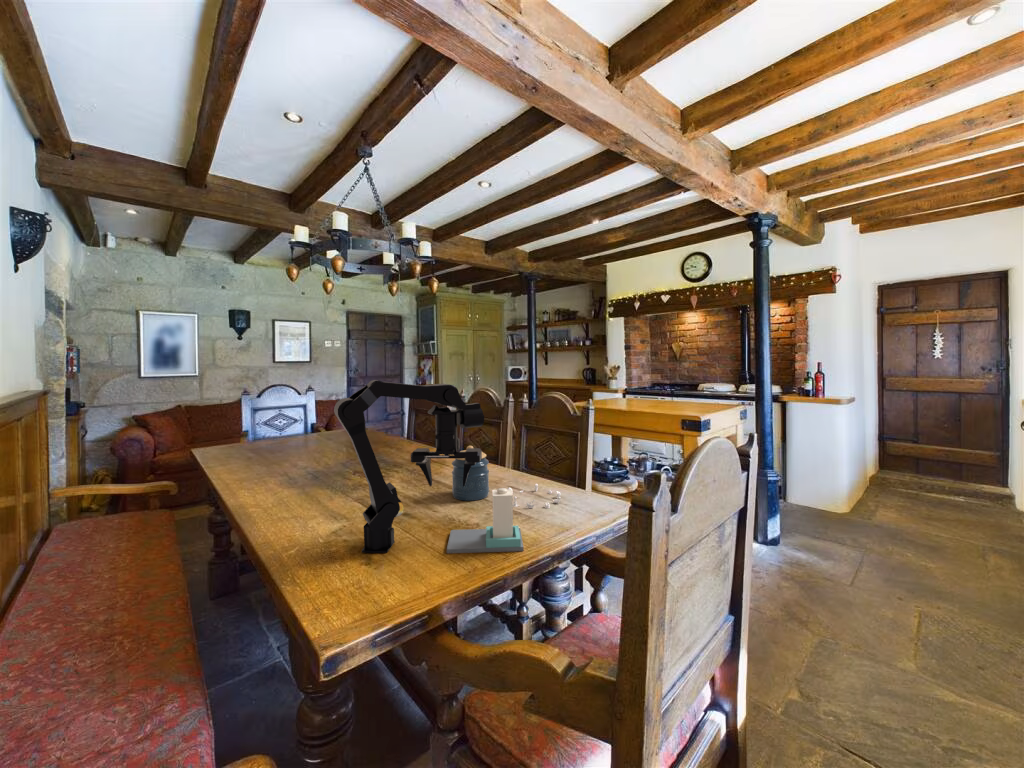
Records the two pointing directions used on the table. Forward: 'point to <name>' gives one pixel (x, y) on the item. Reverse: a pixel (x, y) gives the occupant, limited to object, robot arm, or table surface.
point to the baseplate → (483, 541)
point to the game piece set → (534, 500)
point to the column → (502, 513)
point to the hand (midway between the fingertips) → (447, 486)
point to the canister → (470, 479)
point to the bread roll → (400, 509)
